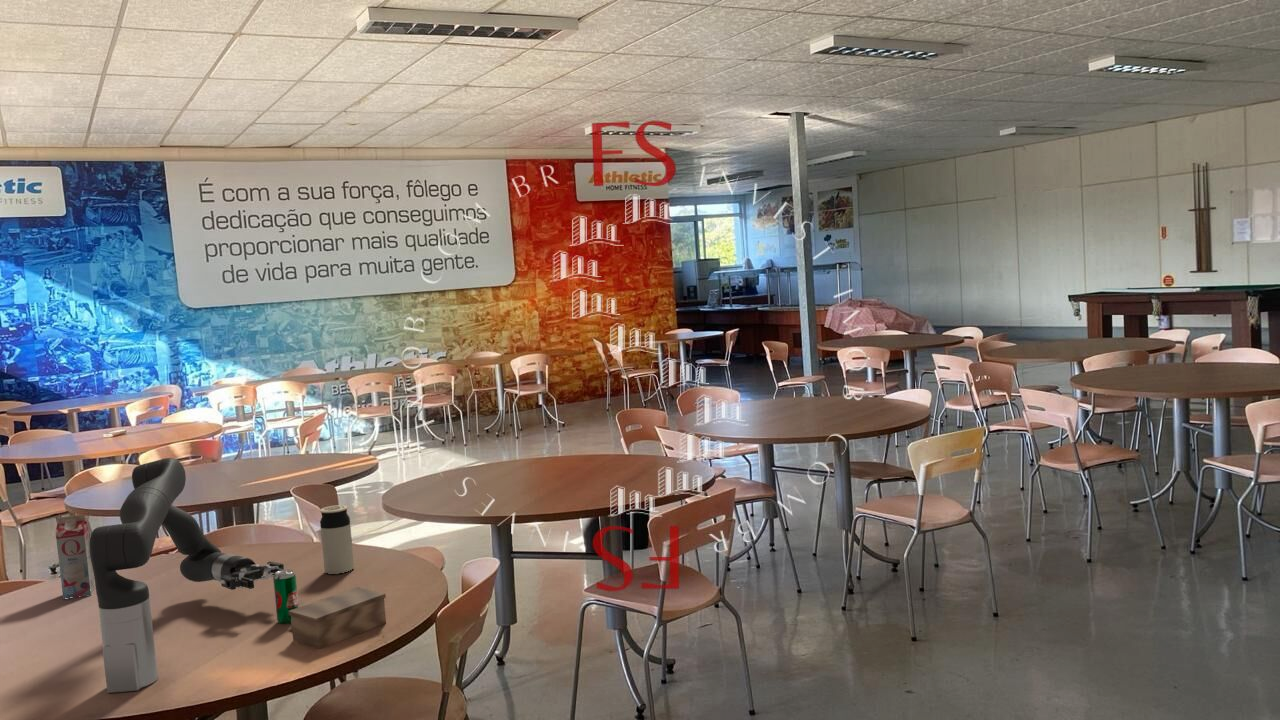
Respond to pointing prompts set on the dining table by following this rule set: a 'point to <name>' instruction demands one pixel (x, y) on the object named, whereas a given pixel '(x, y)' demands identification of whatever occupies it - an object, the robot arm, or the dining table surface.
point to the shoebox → (338, 617)
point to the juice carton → (74, 556)
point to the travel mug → (336, 539)
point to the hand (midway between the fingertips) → (268, 579)
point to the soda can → (285, 594)
